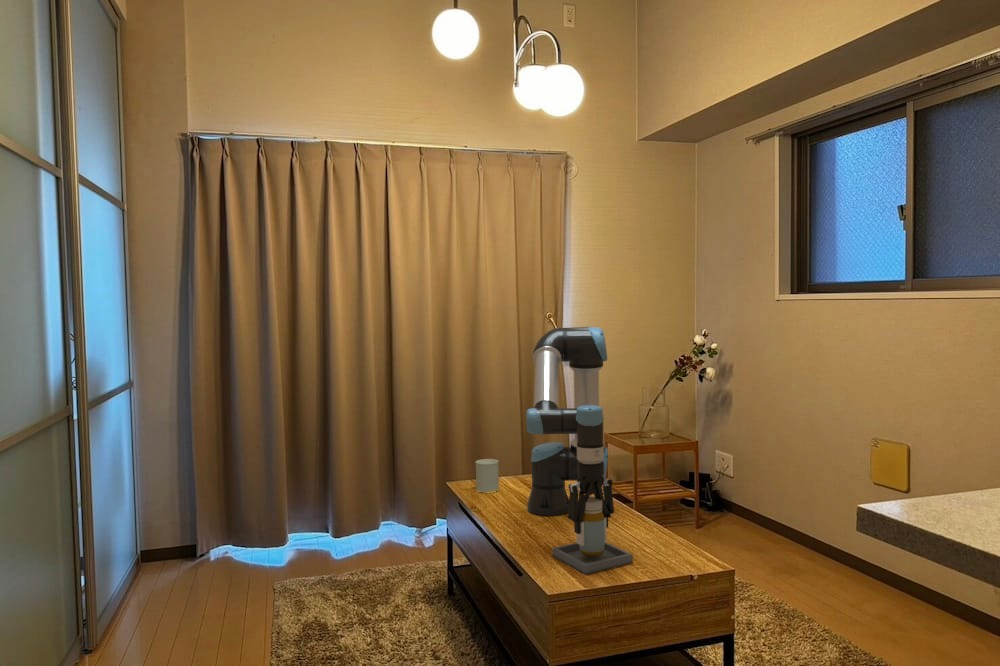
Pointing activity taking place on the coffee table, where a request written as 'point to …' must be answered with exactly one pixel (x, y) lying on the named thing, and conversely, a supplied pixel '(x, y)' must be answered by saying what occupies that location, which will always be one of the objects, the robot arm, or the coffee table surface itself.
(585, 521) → the bottle
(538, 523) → the coffee table surface
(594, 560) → the tray
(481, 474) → the can
